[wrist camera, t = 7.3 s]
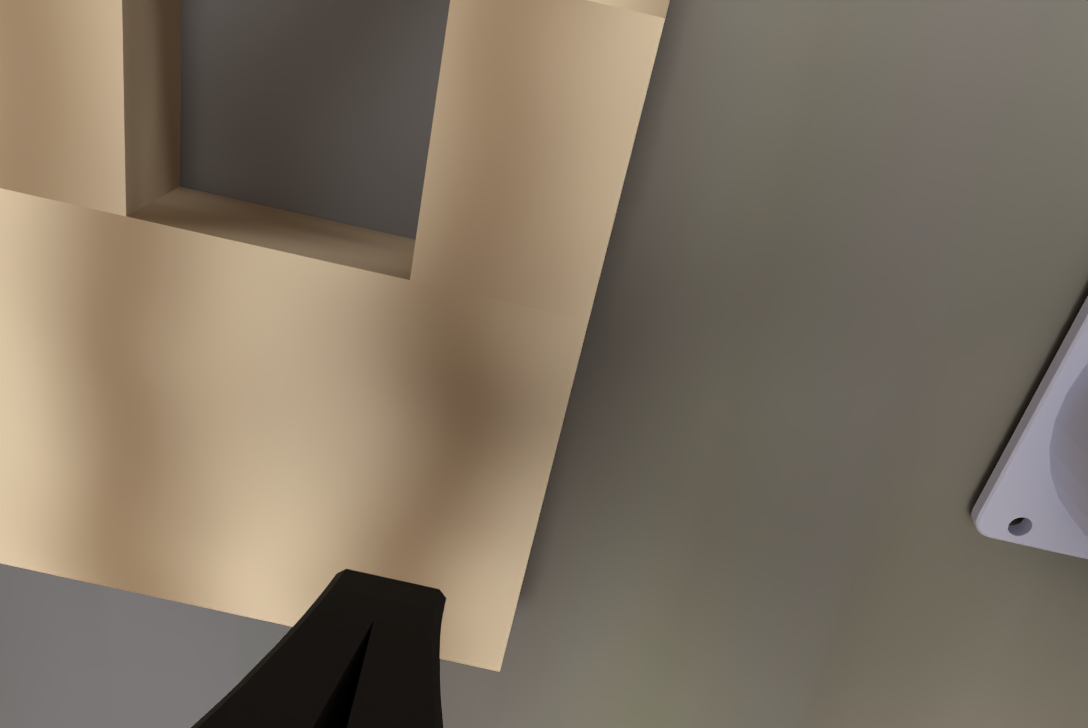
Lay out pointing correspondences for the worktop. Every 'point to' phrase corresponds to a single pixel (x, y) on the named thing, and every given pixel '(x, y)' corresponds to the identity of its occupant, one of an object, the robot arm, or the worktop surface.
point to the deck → (302, 288)
